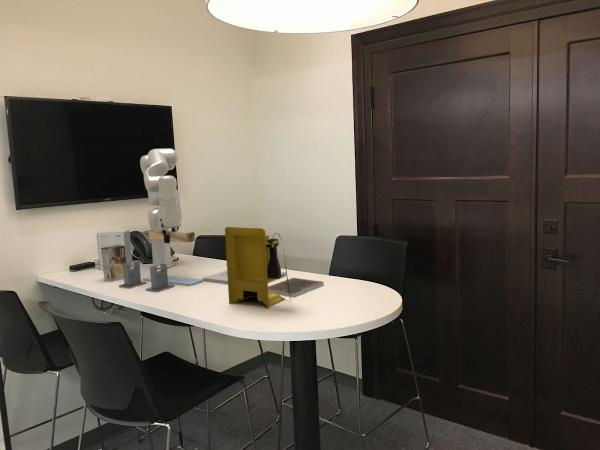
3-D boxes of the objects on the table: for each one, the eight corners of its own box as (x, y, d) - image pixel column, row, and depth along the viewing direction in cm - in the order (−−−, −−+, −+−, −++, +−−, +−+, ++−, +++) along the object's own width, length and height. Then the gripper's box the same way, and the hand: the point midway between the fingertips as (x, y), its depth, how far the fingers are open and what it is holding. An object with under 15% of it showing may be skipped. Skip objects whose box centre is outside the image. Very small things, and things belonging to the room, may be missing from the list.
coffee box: (120, 276, 249) (117, 244, 247) (128, 277, 245) (125, 245, 243) (103, 280, 242) (100, 247, 240) (111, 281, 238) (108, 248, 236)
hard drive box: (133, 266, 273) (130, 230, 271) (127, 269, 266) (124, 232, 263) (106, 266, 275) (103, 230, 273) (99, 269, 267) (96, 232, 265)
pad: (158, 275, 247) (157, 274, 247) (205, 280, 232) (205, 279, 232) (142, 280, 238) (142, 278, 238) (190, 285, 224) (190, 284, 223)
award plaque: (236, 271, 252) (235, 267, 252) (286, 276, 237) (285, 272, 237) (203, 282, 231) (202, 277, 231) (255, 288, 216) (255, 283, 216)
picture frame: (293, 298, 199) (323, 286, 216) (293, 292, 198) (323, 281, 216) (262, 293, 208) (293, 282, 226) (261, 287, 208) (293, 277, 225)
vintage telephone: (305, 302, 191) (302, 224, 187) (286, 312, 179) (282, 229, 175) (239, 294, 207) (236, 221, 203) (218, 302, 195) (213, 226, 191)
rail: (153, 238, 241) (153, 230, 240) (195, 241, 228) (194, 232, 228) (147, 239, 237) (146, 231, 237) (188, 242, 225) (188, 233, 224)
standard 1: (136, 282, 235) (134, 260, 234) (146, 283, 231) (145, 261, 230) (118, 287, 226) (117, 264, 225) (129, 288, 223) (127, 265, 222)
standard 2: (162, 285, 227) (160, 262, 225) (174, 286, 223) (172, 263, 222) (145, 290, 218) (144, 267, 217) (157, 292, 214) (155, 268, 213)
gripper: (174, 201, 240) (177, 239, 242) (148, 204, 225) (151, 244, 228) (186, 201, 236) (189, 240, 238) (160, 204, 222) (163, 245, 224)
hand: (170, 241), depth 233 cm, fingers closed on rail, 4 cm apart
